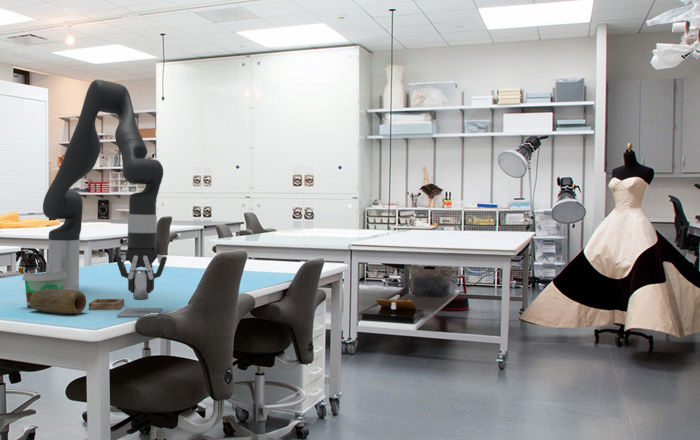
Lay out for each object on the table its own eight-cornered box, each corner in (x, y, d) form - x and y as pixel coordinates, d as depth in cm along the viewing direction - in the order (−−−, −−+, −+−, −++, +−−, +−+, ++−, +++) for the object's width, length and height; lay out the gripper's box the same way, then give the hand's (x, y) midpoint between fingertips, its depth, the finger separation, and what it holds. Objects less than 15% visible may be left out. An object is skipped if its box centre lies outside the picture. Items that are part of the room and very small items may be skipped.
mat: (117, 317, 163) (117, 315, 163) (126, 309, 175) (126, 307, 175) (156, 317, 165) (156, 315, 165) (162, 309, 176) (162, 307, 176)
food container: (34, 310, 169) (35, 274, 168) (22, 308, 172) (22, 272, 171) (75, 305, 179) (75, 271, 179) (62, 302, 182) (63, 269, 182)
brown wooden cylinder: (90, 312, 169) (90, 288, 169) (73, 317, 162) (73, 292, 162) (43, 309, 172) (44, 285, 172) (25, 313, 166) (25, 288, 165)
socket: (88, 309, 172) (88, 303, 172) (95, 304, 180) (96, 298, 180) (118, 309, 174) (118, 303, 173) (124, 304, 181) (124, 298, 181)
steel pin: (132, 300, 167) (132, 271, 167) (134, 297, 171) (135, 269, 171) (147, 300, 168) (147, 271, 168) (149, 297, 172) (150, 269, 172)
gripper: (112, 231, 164) (111, 294, 165) (166, 232, 166) (165, 294, 167) (118, 229, 172) (117, 290, 172) (170, 230, 174) (169, 290, 174)
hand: (141, 292), depth 170 cm, fingers closed on steel pin, 4 cm apart
